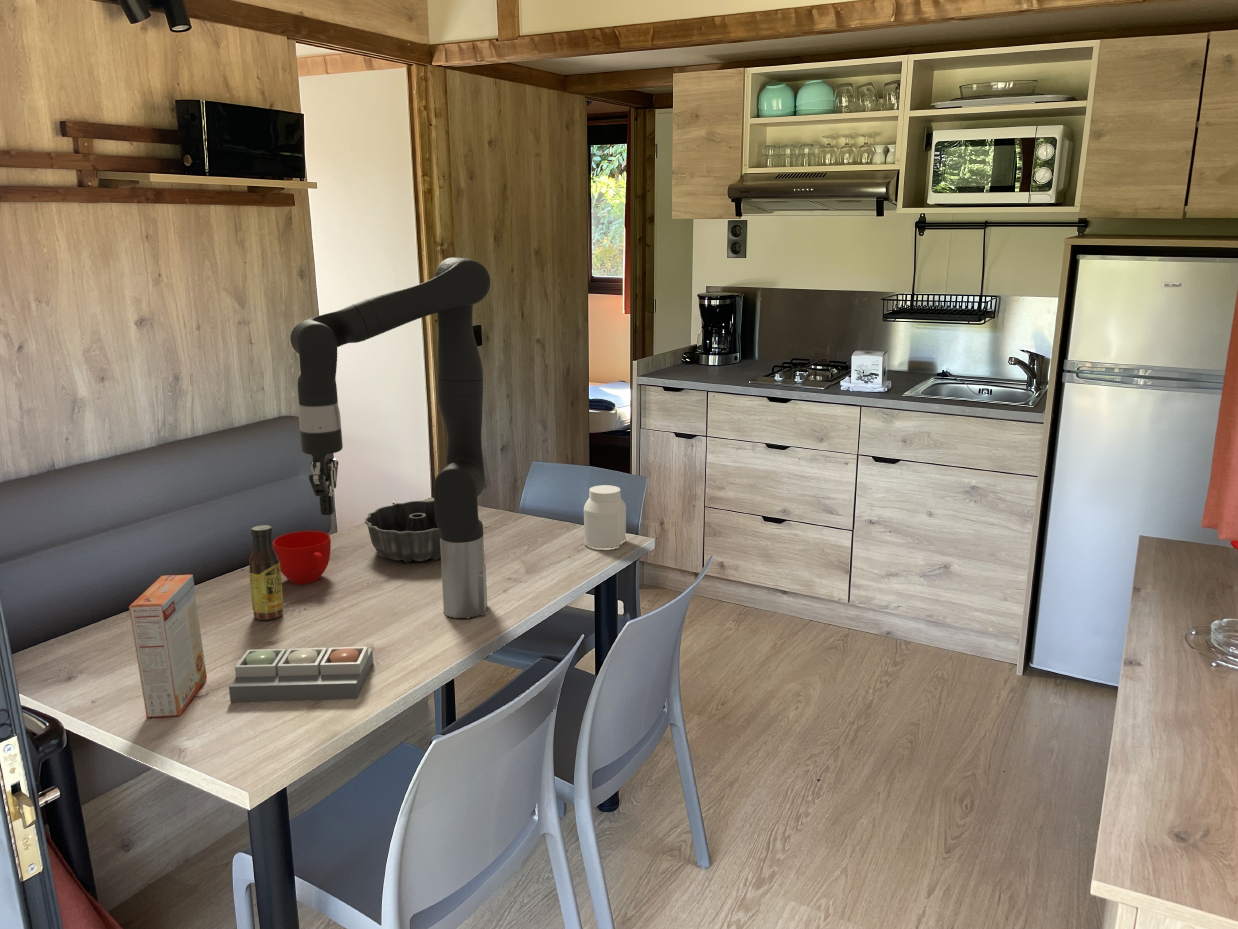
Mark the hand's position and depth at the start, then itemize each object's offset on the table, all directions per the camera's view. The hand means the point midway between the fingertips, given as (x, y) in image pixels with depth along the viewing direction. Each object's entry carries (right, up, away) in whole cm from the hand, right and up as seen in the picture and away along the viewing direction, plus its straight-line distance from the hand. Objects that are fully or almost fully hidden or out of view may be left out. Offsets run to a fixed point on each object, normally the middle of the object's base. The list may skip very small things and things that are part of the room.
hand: (327, 513), depth 178 cm
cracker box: (-22, -32, -16) cm, 42 cm away
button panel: (-1, -30, -10) cm, 32 cm away
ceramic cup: (-17, -18, +39) cm, 46 cm away
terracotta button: (+6, -27, -11) cm, 29 cm away
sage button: (-9, -27, -11) cm, 30 cm away
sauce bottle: (-19, -23, +19) cm, 35 cm away
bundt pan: (+5, -13, +59) cm, 61 cm away
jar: (+53, -12, +65) cm, 85 cm away
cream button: (-1, -27, -11) cm, 29 cm away
